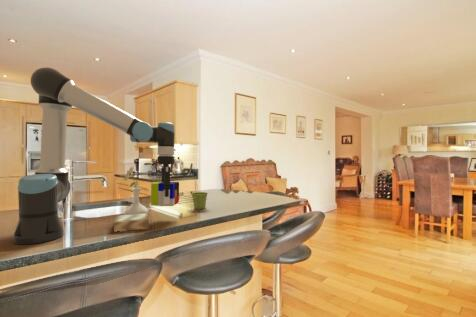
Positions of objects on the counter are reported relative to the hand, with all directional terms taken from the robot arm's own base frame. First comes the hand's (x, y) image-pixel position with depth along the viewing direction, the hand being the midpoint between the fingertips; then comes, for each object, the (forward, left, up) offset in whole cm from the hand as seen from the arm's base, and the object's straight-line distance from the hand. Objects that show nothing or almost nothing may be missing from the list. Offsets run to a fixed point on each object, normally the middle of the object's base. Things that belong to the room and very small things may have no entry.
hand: (165, 201), depth 128 cm
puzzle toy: (0, 0, -1) cm, 1 cm away
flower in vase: (-13, +15, -9) cm, 22 cm away
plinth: (-14, -7, -9) cm, 18 cm away
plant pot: (+21, +21, -9) cm, 31 cm away
